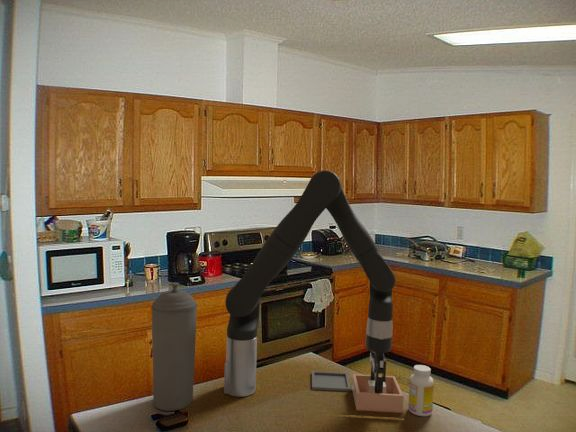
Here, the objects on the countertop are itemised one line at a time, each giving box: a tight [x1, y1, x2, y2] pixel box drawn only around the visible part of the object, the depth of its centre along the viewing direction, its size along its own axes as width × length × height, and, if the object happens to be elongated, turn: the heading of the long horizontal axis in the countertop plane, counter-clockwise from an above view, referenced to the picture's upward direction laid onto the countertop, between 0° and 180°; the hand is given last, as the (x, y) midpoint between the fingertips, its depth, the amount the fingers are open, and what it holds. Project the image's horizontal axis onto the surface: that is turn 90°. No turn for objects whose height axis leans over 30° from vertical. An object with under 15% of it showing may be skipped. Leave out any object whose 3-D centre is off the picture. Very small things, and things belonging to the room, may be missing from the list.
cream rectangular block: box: [367, 380, 386, 394], centre depth 134 cm, size 5×4×5 cm
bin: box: [351, 373, 404, 414], centre depth 134 cm, size 13×13×6 cm
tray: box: [311, 370, 352, 393], centre depth 146 cm, size 12×12×1 cm
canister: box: [150, 281, 198, 412], centre depth 129 cm, size 13×13×35 cm
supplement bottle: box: [408, 364, 435, 417], centre depth 129 cm, size 7×7×13 cm
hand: (376, 386), depth 134 cm, fingers open, 8 cm apart
